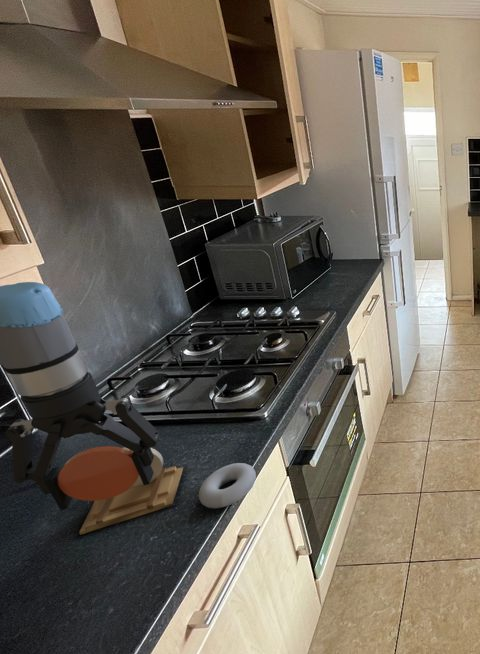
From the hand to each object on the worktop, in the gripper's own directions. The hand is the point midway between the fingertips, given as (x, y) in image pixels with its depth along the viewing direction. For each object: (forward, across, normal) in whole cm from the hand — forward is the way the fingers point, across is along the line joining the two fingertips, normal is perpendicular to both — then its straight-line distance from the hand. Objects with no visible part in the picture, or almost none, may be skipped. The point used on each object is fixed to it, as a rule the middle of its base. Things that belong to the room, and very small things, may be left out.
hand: (109, 490), depth 71 cm
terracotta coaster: (+1, 0, 0) cm, 1 cm away
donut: (+14, -14, -6) cm, 21 cm away
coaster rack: (+14, +3, -12) cm, 18 cm away
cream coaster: (+13, +3, -15) cm, 20 cm away
